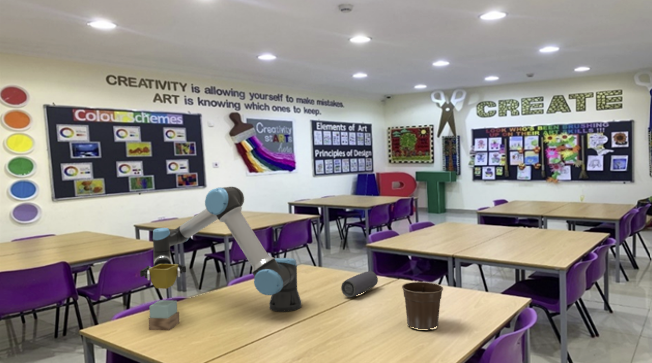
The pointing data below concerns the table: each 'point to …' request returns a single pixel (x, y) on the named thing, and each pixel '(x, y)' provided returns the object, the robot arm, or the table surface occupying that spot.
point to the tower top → (163, 309)
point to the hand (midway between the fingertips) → (164, 275)
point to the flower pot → (163, 275)
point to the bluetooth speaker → (359, 284)
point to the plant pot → (422, 304)
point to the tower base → (164, 322)
